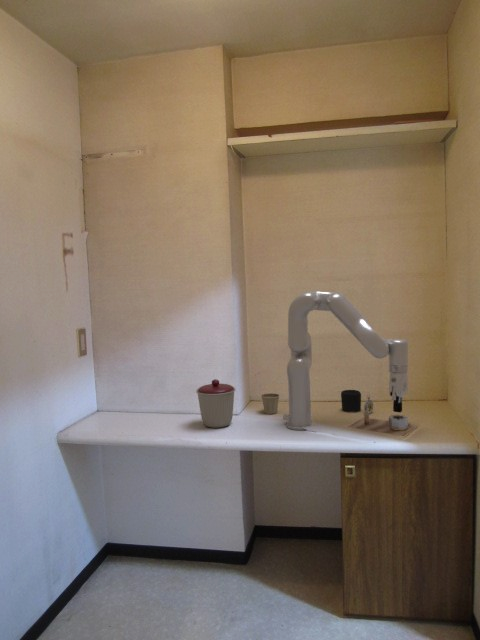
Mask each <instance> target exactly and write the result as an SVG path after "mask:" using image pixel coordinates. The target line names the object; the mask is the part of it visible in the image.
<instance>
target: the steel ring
mask: <svg viewBox="0 0 480 640" xmlns="http://www.w3.org/2000/svg"><path fill="white" fill-rule="evenodd" d="M388 421H389V427H391V428H394V429H406V428H407V427H408V424H409V418H408V416H406V415H403V414H391V415H390V416H388Z"/></svg>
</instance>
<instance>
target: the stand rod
mask: <svg viewBox="0 0 480 640" xmlns="http://www.w3.org/2000/svg"><path fill="white" fill-rule="evenodd" d="M363 417H364V424H369V418H370V414H369V411H365V410H364V411H363Z"/></svg>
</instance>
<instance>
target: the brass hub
mask: <svg viewBox="0 0 480 640" xmlns="http://www.w3.org/2000/svg"><path fill="white" fill-rule="evenodd" d="M390 429H392V430H395V431H404V430H407V428H406V429H394V428H391V427H390Z"/></svg>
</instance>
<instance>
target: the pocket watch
mask: <svg viewBox="0 0 480 640" xmlns="http://www.w3.org/2000/svg"><path fill="white" fill-rule="evenodd" d="M366 397H367V400H366V401H365V404H364V405H363V407H364V409H363V410H364V411H369V415H371V413H372V412H373V410H374V403H373V400H371V396H370V394H367V396H366Z"/></svg>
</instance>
